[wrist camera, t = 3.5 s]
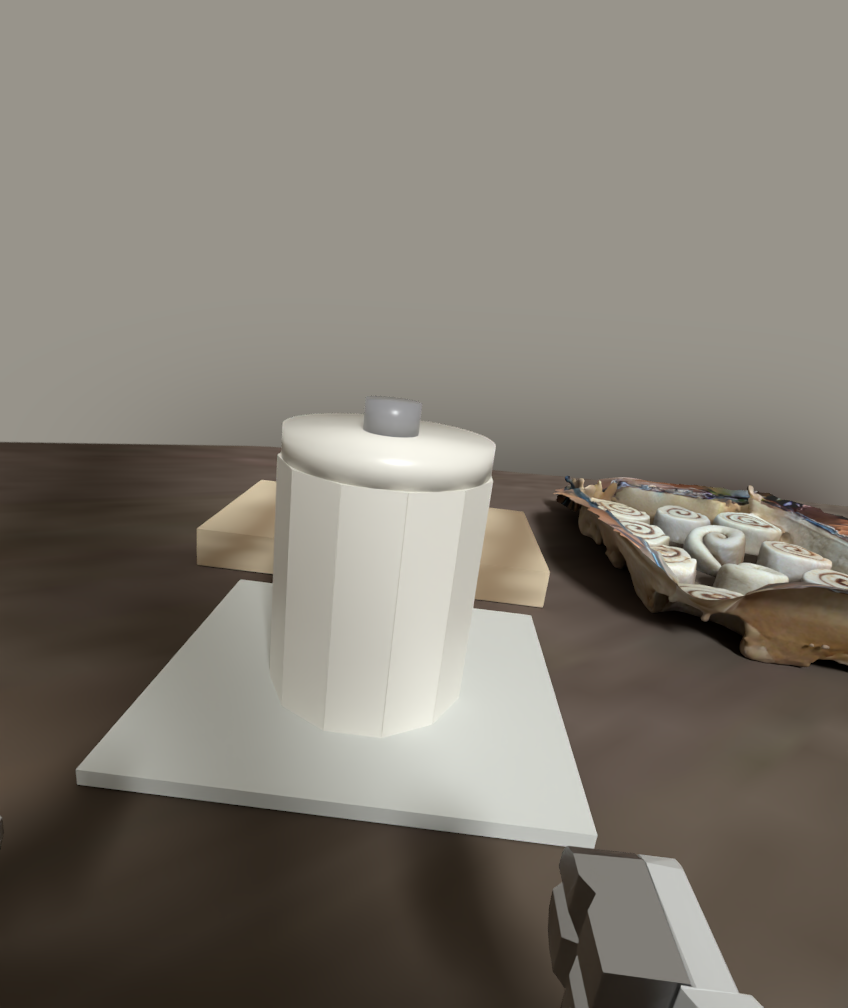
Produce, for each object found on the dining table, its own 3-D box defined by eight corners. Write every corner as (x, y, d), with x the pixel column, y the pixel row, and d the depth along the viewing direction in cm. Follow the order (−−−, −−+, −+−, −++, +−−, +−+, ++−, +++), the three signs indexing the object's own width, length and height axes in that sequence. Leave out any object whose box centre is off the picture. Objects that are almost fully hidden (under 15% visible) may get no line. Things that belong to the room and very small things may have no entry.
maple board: (197, 564, 28) (196, 528, 27) (260, 507, 38) (261, 479, 37) (542, 607, 28) (550, 572, 27) (518, 539, 37) (523, 511, 37)
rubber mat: (77, 784, 15) (75, 769, 14) (240, 588, 26) (240, 579, 26) (593, 850, 14) (597, 835, 14) (529, 624, 26) (531, 615, 26)
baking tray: (514, 499, 50) (523, 441, 48) (743, 521, 51) (759, 464, 49) (644, 711, 21) (676, 586, 20) (1165, 754, 22) (1235, 636, 21)
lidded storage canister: (244, 721, 17) (250, 398, 14) (301, 614, 23) (313, 380, 20) (460, 748, 17) (512, 430, 14) (456, 634, 23) (491, 401, 20)
